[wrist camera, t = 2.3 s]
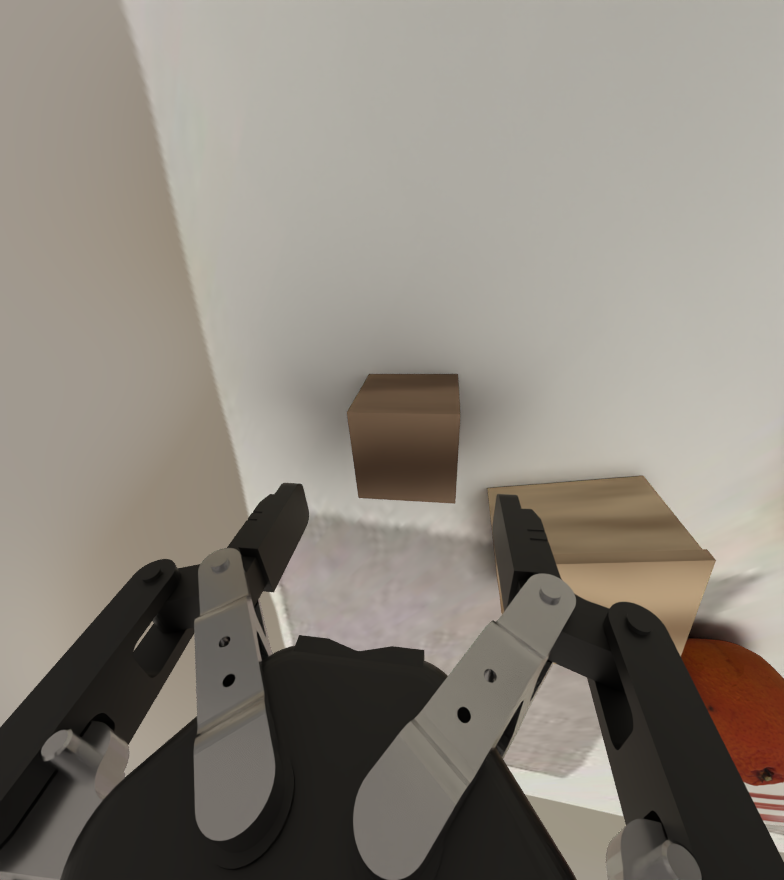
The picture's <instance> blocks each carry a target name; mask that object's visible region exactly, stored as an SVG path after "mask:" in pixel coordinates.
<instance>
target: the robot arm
mask: <svg viewBox="0 0 784 880" xmlns="http://www.w3.org/2000/svg"><path fill="white" fill-rule="evenodd" d="M308 520H309V510H308V505H307V501H306V497H305V493H304V489H303V486H302V484H296V483H283V484H281V486H280V487H279V489H278V490H277V492H276V493H275V494H270V495H269V496H267V497H266V498H265V499H263V500H262V501H261V502H260V503H259V504H258V505H257V507H256V508H255V510H254V511H253V513H252V514H251V515H250V516H249V518H248V521H246V522H245V524H244V525H243V526H242V528H241V529H240V530H239V532H238V533H237V535H236V536H235V537H234V539H233V540H232V542H231V543H230V544H229V546H228V547H227V548H224V549H220V550H217V551H215V552H213V553H212V554H210V555H209V556H207V557H206V558H205V559H204V560H203V561H202V563H201V564H199V565H194V566H188V567H183V568H177V567H176V565H175V563H174V562H173V561H172V560H169V559H162V560H157V561H154V562H151V563H149V564H147V565H145V566H144V567H142V568H141V569H140V570H138V571H137V572H136V573H135V574H134V575H133V576H132V578H131V579H130V580H129V581H128V582H127V583H126V584H125V586H124V587H123V588H122V589H121V590H120V591H119V592H118V594H117V595H116V596H115V597H114V598H113V599H112V600H111V602H110V603H109V604H108V605H107V606H106V607H105V608H104V610H103V611H102V612H101V613H100V614H99V615H98V616H97V618H96V619H95V620H94V621H93V622H92V623H91V624H90V626H89V627H88V628H87V629H86V630H85V631H84V633H83V634H82V635H81V636H80V637H79V638H78V639H77V640H76V642H75V643H74V644H73V645H72V646H71V647H70V648H69V650H68V651H67V652H66V653H65V654H64V655H63V656H62V658H61V659H60V660H59V661H58V662H57V663H56V664H55V666H54V667H53V668H52V669H51V670H50V671H49V672H48V674H47V675H46V676H45V677H44V678H43V679H42V680H41V682H40V683H39V684H38V685H37V686H36V687H35V688H34V690H33V691H32V692H31V693H30V694H29V695H28V696H27V698H26V699H25V700H24V701H23V702H22V703H21V704H20V705H19V707H18V708H17V709H16V710H15V711H14V712H13V713H12V715H11V716H10V717H9V718H8V719H7V720H6V721H5V723H4V724H3V725H2V726H1V727H0V880H577V879H576V877H575V875H574V874H573V872H572V870H571V869H570V867H569V865H568V864H567V862H566V861H565V859H564V857H563V856H562V854H561V852H560V851H559V850H558V848H557V846H556V844H555V843H554V841H553V839H552V838H551V836H550V835H549V833H548V832H547V830H546V828H545V827H544V825H543V823H542V822H541V820H540V818H539V817H538V815H537V814H536V812H535V810H534V809H533V807H532V806H531V804H530V802H529V801H528V799H527V797H526V796H525V794H524V793H523V791H522V789H521V788H520V786H519V784H518V783H517V781H516V780H515V778H514V776H513V775H512V773H511V772H510V770H509V768H508V767H507V765H506V763H505V762H504V760H503V758H504V756H505V755H506V753H507V751H508V749H509V747H510V745H511V743H512V742H513V740H514V738H515V736H516V734H517V732H518V730H519V728H520V726H521V724H522V722H523V720H524V718H525V715H526V713H527V711H528V709H529V707H530V705H531V703H532V702H533V700H534V698H535V696H536V694H537V692H538V691H539V689H540V687H541V685H542V683H543V681H544V680H545V678H546V676H547V674H548V672H549V670H550V669H551V667H552V665H553V663H556V664H558V665H560V666H563V667H565V668H567V669H569V670H572V671H574V672H576V673H578V674H581V675H583V676H585V677H587V679H588V683H589V687H590V690H591V694H592V698H593V702H594V705H595V709H596V713H597V717H598V721H599V724H600V728H601V732H602V736H603V740H604V743H605V747H606V751H607V755H608V759H609V762H610V766H611V770H612V774H613V778H614V781H615V785H616V789H617V793H618V797H619V800H620V804H621V808H622V812H623V815H624V819H625V823H626V826H625V827H624V828H623V829H622V830H621V831H620V832H619V833H618V834H616V835H615V836H614V837H613V838H612V840H611V841H610V843H609V845H608V848H607V852H606V868H607V878H608V880H784V862H783V860H782V858H781V856H780V854H779V852H778V850H777V848H776V846H775V844H774V842H773V840H772V838H771V836H770V834H769V832H768V830H767V828H766V826H765V824H764V822H763V820H762V818H761V816H760V814H759V812H758V810H757V808H756V806H755V804H754V802H753V800H752V798H751V796H750V794H749V792H748V790H747V788H746V786H745V784H744V782H743V780H742V778H741V776H740V774H739V772H738V770H737V768H736V766H735V764H734V762H733V760H732V758H731V756H730V754H729V752H728V750H727V748H726V746H725V744H724V742H723V740H722V738H721V736H720V734H719V732H718V730H717V728H716V726H715V724H714V722H713V720H712V718H711V716H710V714H709V712H708V710H707V708H706V706H705V704H704V702H703V700H702V698H701V696H700V694H699V692H698V690H697V688H696V686H695V684H694V682H693V680H692V678H691V676H690V674H689V672H688V670H687V668H686V666H685V664H684V662H683V660H682V658H681V656H680V654H679V652H678V650H677V648H676V646H675V644H674V642H673V640H672V638H671V636H670V634H669V632H668V630H667V629H666V627H665V625H664V624H663V623H662V621H661V620H660V619H659V618H658V617H657V616H656V615H655V614H653V613H652V612H651V611H649V610H648V609H646V608H644V607H642V606H640V605H638V604H635V603H631V602H617V603H615V604H613V605H612V606H611V607H610V609H609V608H607V607H604V606H601V605H598V604H595V603H593V602H590V601H587V600H585V599H583V598H581V597H579V596H578V595H576V594H575V593H574V592H573V590H572V589H571V588H570V586H569V585H568V584H567V583H565V582H564V581H563V580H562V579H561V577H560V574H559V571H558V568H557V565H556V562H555V559H554V556H553V553H552V550H551V547H550V544H549V542H548V538H547V535H546V533H545V529H544V526H543V524H542V521H541V519H540V517H539V516H538V515H537V514H536V513H535V512H534V511H533V510H532V509H521V505H520V501H519V498H518V495H510V494H497V496H496V503H495V510H494V517H493V528H492V532H493V542H494V549H495V555H496V562H497V568H498V575H499V581H500V588H501V594H502V601H503V608H504V613H503V614H502V615H501V617H500V618H499V619H498V620H497V621H496V622H495V621H491V622H490V623H489V624H488V625H487V626H486V627H485V628H484V630H483V631H482V632H481V633H480V635H479V636H478V637H477V639H476V640H475V641H474V643H473V644H472V645H471V647H470V648H469V649H468V651H467V652H466V653H465V654H464V656H463V657H462V658H461V660H460V661H459V662H458V664H457V665H456V666H455V668H454V669H453V670H452V672H451V673H450V674H449V675H448V676H447V675H446V674H445V673H444V672H443V671H442V670H440V669H439V668H437V667H436V666H434V665H432V664H431V663H428V662H426V661H424V650H418V649H410V648H401V647H393V646H391V647H385V648H378V649H372V650H365V651H356V650H353V649H351V648H349V647H346V646H344V645H342V644H339V643H337V642H335V641H333V640H330V639H327V638H318V637H310V636H302V635H299V637H298V640H297V642H296V645H295V646H291V647H288V648H285V649H282V650H280V651H277V652H276V653H274V654H273V653H272V650H271V647H270V643H269V639H268V635H267V630H266V626H265V621H264V617H263V613H262V608H261V604H260V601H259V597H260V595H261V594H262V592H263V591H267V592H274V591H275V589H276V587H277V585H278V583H279V581H280V579H281V577H282V575H283V573H284V571H285V569H286V567H287V565H288V563H289V561H290V559H291V557H292V555H293V553H294V551H295V549H296V547H297V545H298V543H299V541H300V538H301V536H302V534H303V532H304V530H305V528H306V526H307V524H308ZM152 621H153V622H154V624H153V625H152V627H151V628H150V629H149V631H148V632H147V634H146V635H145V636H144V638H143V639H142V641H141V642H140V643H139V645H138V646H137V648H136V649H135V650H134V647H135V645H136V643H137V641H138V640H139V638H140V637H141V636H142V634H143V633H144V631H145V630H146V628H147V627H148V626H149V625H150V623H151V622H152ZM193 634H195V661H196V662H195V664H196V693H197V717H195V718H194V719H193V720H192V721H191V722H190V723H188V724H187V725H186V726H185V727H184V728H182V729H181V730H180V731H179V732H178V733H177V734H175V735H174V736H173V737H172V738H171V739H170V740H168V741H167V742H166V743H165V744H164V745H163V746H161V747H160V748H159V749H158V750H157V751H156V752H154V753H153V754H152V755H151V756H150V757H148V758H147V759H146V760H145V761H144V762H143V763H141V764H140V765H139V766H138V767H137V768H136V769H134V770H133V771H132V772H131V773H130V774H129V775H127V776H126V777H125V773H124V770H125V768H126V766H127V763H128V759H129V746H128V744H129V743H130V741H131V739H132V738H133V736H134V734H135V733H136V731H137V729H138V727H139V726H140V724H141V722H142V721H143V719H144V717H145V716H146V714H147V712H148V711H149V709H150V707H151V705H152V704H153V702H154V700H155V699H156V697H157V695H158V694H159V692H160V690H161V689H162V687H163V685H164V683H165V682H166V680H167V678H168V677H169V675H170V673H171V672H172V670H173V668H174V666H175V665H176V663H177V661H178V660H179V658H180V656H181V655H182V653H183V651H184V650H185V648H186V646H187V644H188V643H189V641H190V639H191V638H192V636H193ZM133 651H134V652H133Z"/></svg>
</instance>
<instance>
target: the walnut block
mask: <svg viewBox="0 0 784 880" xmlns="http://www.w3.org/2000/svg"><path fill="white" fill-rule="evenodd" d="M347 417H348V425H349V432H350V439H351V446H352V454H353V461H354V468H355V475H356V482H357V490H358V497H359V498H370V499H387V500H405V501H422V502H439V503H455V498H456V481H457V463H458V446H459V429H460V401H459V384H458V374H369V375H368V377H367V379H366V381H365V382H364V384H363V386H362V387H361V389H360V391H359V393H358V394H357V396H356V398H355V399H354V401H353V403H352V405H351V406H350V408H349V410H348V411H347Z"/></svg>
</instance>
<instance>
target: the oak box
mask: <svg viewBox="0 0 784 880" xmlns="http://www.w3.org/2000/svg"><path fill="white" fill-rule="evenodd" d="M487 490H488V499H489V508H490V517H491V526H492V528H493V517H494V510H495V503H496V496H497V494H510V495H518V498H519V501H520V505H521V509H532V510H533V511H534V512H535V513H536V514H537V515H538V516H539V517H540V519H541V521H542V524H543V526H544V529H545V533H546V535H547V538H548V542H549V544H550V547H551V550H552V553H553V556H554V559H555V562H556V565H557V568H558V571H559V574H560V577H561V579H562V580H563V581H564V582H565V583H567V584H568V585H569V586H570V588H571V589H572V590H573V592H574V593H575V594H576V595H578V596H579V597H581V598H583V599H585V600H587V601H590V602H593V603H595V604H598V605H601V606H604V607H607V608H609V609H610V607H611V606H612V605H613V604H615V603H617V602H631V603H635V604H638V605H640V606H642V607H644V608H646V609H648V610H649V611H651V612H652V613H653V614H655V615H656V616H657V617H658V618H659V619H660V620H661V621H662V623H663V624H664V625H665V627H666V629H667V630H668V632H669V634H670V636H671V638H672V640H673V642H674V644H675V646H676V648H677V650H678V652H679V654H680V656H681V654H682V652H683V649H684V646H685V643H686V641H687V638H688V635H689V632H690V630H691V627H692V624H693V622H694V619H695V616H696V613H697V611H698V608H699V605H700V602H701V600H702V597H703V594H704V591H705V589H706V586H707V583H708V580H709V578H710V575H711V572H712V569H713V567H714V564H715V561H716V560H715V559H714V558H713V556H712V555H711V554H710V553H709V551H708V550H707V549H704V550H703V549H702V548H701V547H700V546H699V544H698V543H697V542H696V541H695V540H694V538H693V537H692V536H691V535H690V533H689V532H688V531H687V530H686V528H685V527H684V526H683V525H682V523H681V522H680V521H679V520H678V518H677V517H676V516H675V515H674V513H673V512H672V511H671V510H670V508H669V507H668V506H667V505H666V503H665V502H664V501H663V500H662V498H661V497H660V496H659V495H658V493H657V492H656V491H655V490H654V488H653V487H652V486H651V485H650V483H649V482H648V481H647V480H646V479H645V477H644V476H636V477H623V478H610V479H598V480H585V481H573V482H560V483H547V484H535V485H522V486H510V487H497V488H487ZM492 535H493V532H492ZM493 544H494V542H493ZM494 553H495V549H494ZM495 563H496V572H497V580H498V587H499V595H500V604H501V613H502V614H503V613H504V608H503V601H502V594H501V588H500V581H499V575H498V568H497V562H496V555H495ZM553 664H556V663H553Z"/></svg>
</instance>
